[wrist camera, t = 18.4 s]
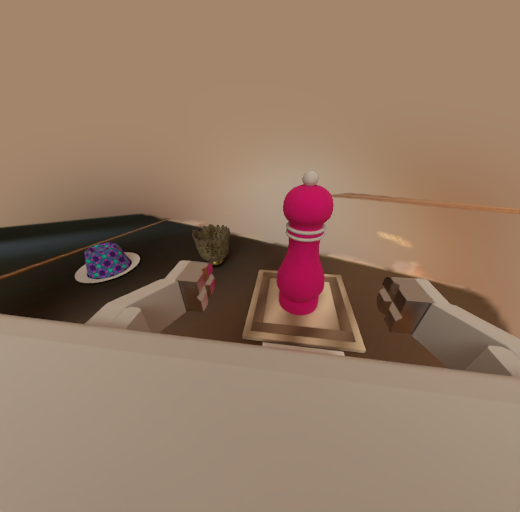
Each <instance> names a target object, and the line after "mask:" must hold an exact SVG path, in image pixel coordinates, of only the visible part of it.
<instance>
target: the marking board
mask: <svg viewBox="0 0 520 512" xmlns="http://www.w3.org/2000/svg"><path fill="white" fill-rule="evenodd" d="M277 273H278V271H271V270H259V273H258V277H257V281H256V285H255V289H254V292H253V296H252V300H251V304H250V308H249V312H248V316H247V319H246V323H245V327H244V331H243V335H242V339H247V340H256V341H264V342H273V343H282V344H290V345H299V346H307V347H316V348H325V349H333V350H342V351H350V352H359V353H365V351H366V349H365V346H364V343H363V340H362V337H361V334H360V331H359V328H358V326H357V323H356V320H355V317H354V314H353V311H352V308H351V305H350V302H349V299H348V296H347V293H346V290H345V287H344V284H343V281H342V278H341V275H330V274H324V277H325V283H324V289H323V291H322V293H321V294H320V295H319V299H318V305H317V308H316V309H315V311H313V312H312V313H310V314H307V315H300V316H299V315H293V314H291V313H288V312H287V311H285V310H284V309H283V308H282V307H281V305H280V303H279V291H280V290H279V288H278V286H277V282H276V280H277Z"/></svg>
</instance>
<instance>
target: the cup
mask: <svg viewBox="0 0 520 512" xmlns="http://www.w3.org/2000/svg"><path fill="white" fill-rule="evenodd" d="M192 236H193V239H194V241H195V244H196V247H197V250H198V252H199V254H200V256H201V257H202V258H203V259H204V260H206V261H207V263H211V264H212V266H213V267H219V266H221V265H222V264H223V263H224V258H225V257H226V256H227V254H228V252H229V244H230V231H229V228H227V227H224V225H223V226H222V227H221V228H220V227H219V225H217V227H215V226H213V225H211V224H210V225H209V226H207V227H206V226H203V231H202V230H200V232H199V231H198V229H196V231H195V230H193V234H192Z"/></svg>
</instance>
